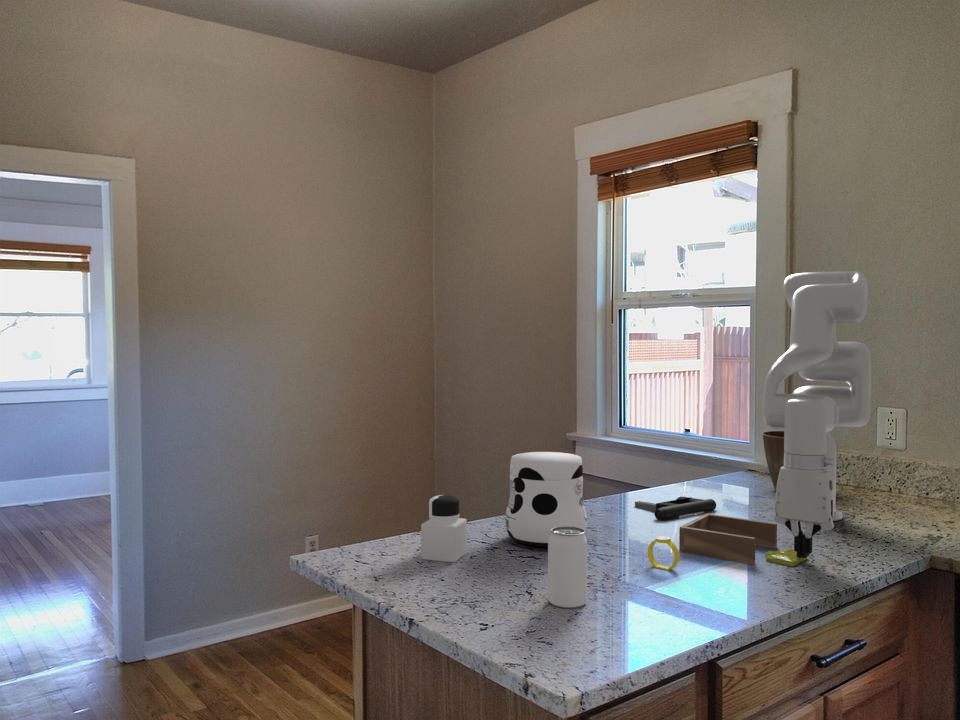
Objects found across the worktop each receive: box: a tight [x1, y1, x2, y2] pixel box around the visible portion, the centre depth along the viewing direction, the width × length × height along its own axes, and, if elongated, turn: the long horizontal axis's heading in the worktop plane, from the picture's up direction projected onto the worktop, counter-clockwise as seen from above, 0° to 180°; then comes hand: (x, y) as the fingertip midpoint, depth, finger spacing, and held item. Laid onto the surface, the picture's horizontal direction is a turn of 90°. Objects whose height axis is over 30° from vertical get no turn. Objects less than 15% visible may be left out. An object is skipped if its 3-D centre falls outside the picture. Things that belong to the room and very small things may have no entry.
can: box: [547, 526, 588, 609], centre depth 130 cm, size 6×6×12 cm
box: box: [678, 512, 778, 565], centre depth 161 cm, size 15×15×5 cm
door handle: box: [634, 496, 717, 521], centre depth 196 cm, size 3×20×16 cm
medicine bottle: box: [420, 494, 468, 564], centre depth 156 cm, size 7×7×12 cm
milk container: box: [504, 451, 588, 547], centre depth 167 cm, size 17×17×18 cm
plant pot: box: [761, 430, 784, 491], centre depth 219 cm, size 15×15×16 cm
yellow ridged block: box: [761, 547, 808, 567], centre depth 154 cm, size 10×9×3 cm
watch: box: [647, 535, 680, 572], centre depth 149 cm, size 6×3×6 cm, turn 48°
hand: (803, 556), depth 152 cm, fingers closed
